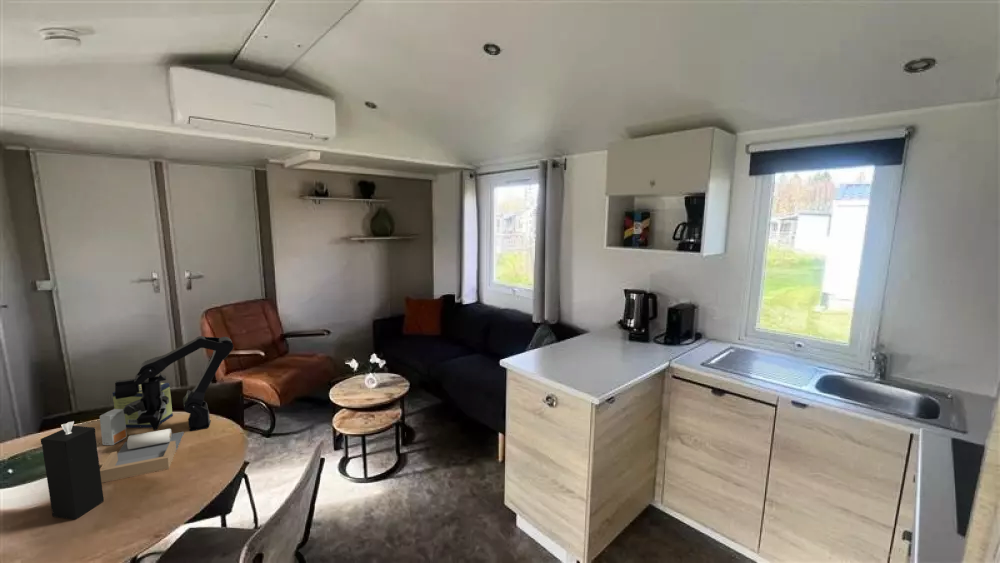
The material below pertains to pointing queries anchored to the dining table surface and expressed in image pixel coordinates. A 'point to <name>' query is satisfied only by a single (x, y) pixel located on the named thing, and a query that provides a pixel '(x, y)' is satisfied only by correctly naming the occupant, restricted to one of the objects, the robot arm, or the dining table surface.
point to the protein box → (132, 419)
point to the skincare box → (113, 427)
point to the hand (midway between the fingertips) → (155, 429)
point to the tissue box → (72, 471)
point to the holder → (139, 460)
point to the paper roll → (149, 439)
